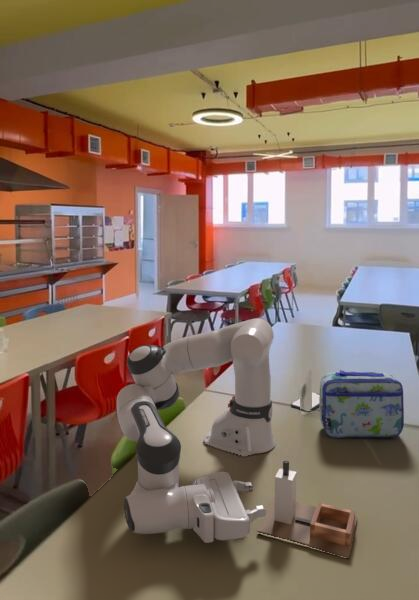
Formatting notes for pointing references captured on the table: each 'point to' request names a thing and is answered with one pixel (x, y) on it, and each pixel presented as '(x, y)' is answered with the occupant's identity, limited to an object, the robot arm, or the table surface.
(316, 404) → the phone case
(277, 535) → the board
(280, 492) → the connector plug
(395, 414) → the lunch box
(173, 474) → the robot arm
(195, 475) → the table surface
